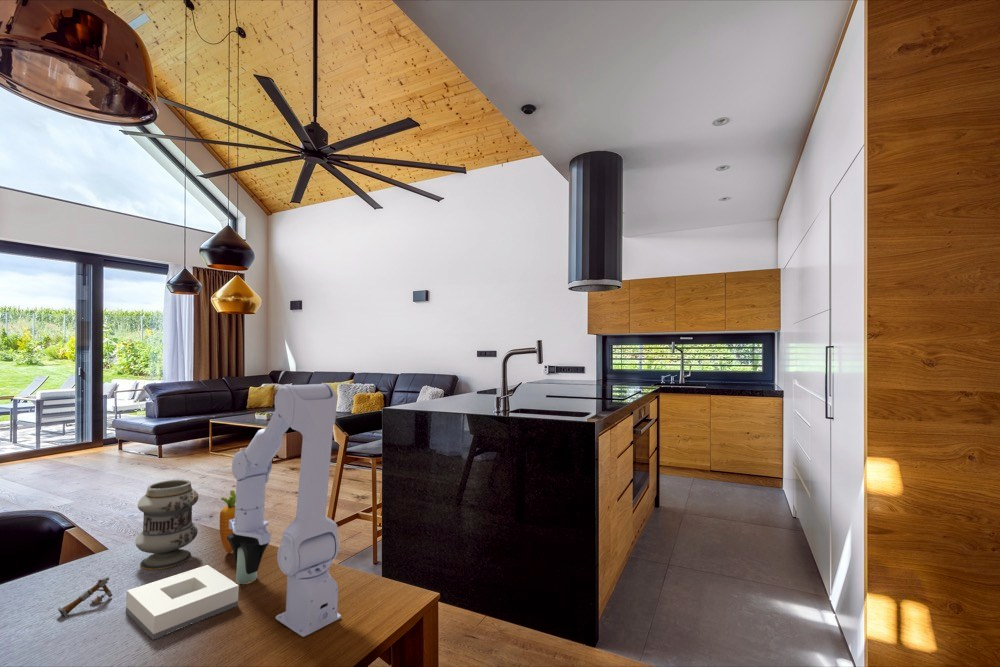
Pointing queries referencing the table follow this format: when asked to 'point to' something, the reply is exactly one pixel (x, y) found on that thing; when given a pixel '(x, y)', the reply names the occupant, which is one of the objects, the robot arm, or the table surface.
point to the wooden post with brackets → (87, 594)
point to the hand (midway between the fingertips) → (247, 569)
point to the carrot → (227, 520)
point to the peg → (243, 569)
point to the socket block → (180, 600)
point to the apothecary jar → (167, 523)
